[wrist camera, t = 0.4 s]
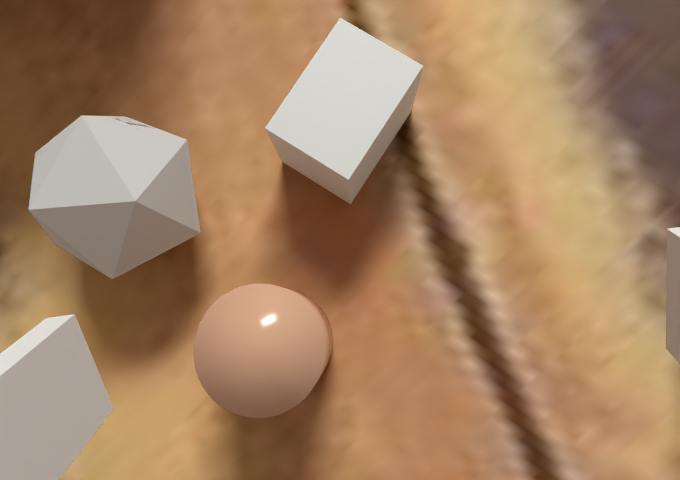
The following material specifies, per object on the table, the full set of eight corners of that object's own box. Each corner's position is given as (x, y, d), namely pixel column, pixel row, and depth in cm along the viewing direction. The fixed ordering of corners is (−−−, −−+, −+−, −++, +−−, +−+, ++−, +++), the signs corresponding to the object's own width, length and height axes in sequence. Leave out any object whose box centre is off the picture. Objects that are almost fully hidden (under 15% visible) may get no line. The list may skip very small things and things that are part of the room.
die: (246, 234, 32) (206, 93, 25) (138, 334, 27) (52, 192, 20) (157, 193, 35) (101, 60, 29) (48, 275, 31) (-50, 138, 24)
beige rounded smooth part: (320, 404, 30) (307, 432, 23) (220, 380, 30) (178, 400, 23) (343, 302, 30) (338, 299, 23) (245, 280, 31) (212, 270, 24)
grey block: (350, 204, 31) (348, 179, 25) (282, 162, 32) (264, 128, 26) (411, 111, 32) (423, 65, 26) (343, 71, 32) (340, 17, 27)
